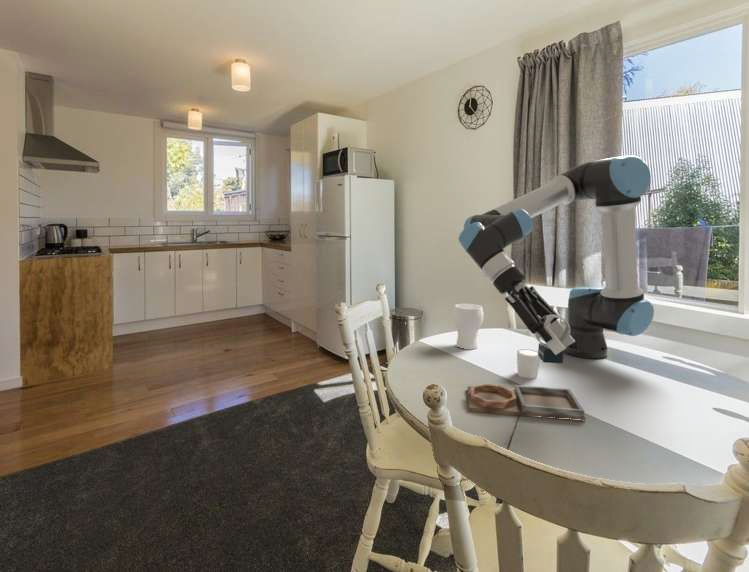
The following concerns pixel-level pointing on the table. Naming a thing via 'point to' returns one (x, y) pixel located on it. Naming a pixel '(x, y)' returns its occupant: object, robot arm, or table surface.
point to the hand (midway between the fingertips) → (565, 347)
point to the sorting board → (524, 401)
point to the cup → (467, 324)
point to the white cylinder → (528, 363)
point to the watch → (544, 349)
